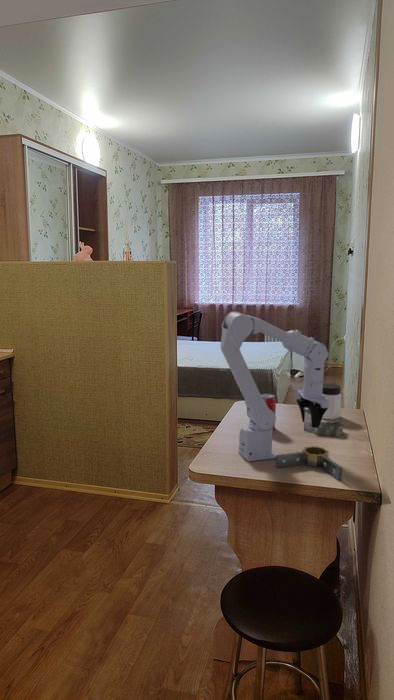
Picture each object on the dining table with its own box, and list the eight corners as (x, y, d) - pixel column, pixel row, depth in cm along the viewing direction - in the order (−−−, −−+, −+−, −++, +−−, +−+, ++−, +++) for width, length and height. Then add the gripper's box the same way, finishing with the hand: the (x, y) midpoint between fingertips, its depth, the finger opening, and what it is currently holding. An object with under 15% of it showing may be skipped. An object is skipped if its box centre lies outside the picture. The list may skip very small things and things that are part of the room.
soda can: (276, 431, 172) (277, 397, 170) (257, 431, 173) (258, 397, 171) (273, 425, 179) (275, 393, 177) (256, 425, 179) (257, 392, 177)
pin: (307, 434, 150) (309, 411, 148) (298, 428, 154) (300, 406, 153) (321, 432, 151) (323, 409, 150) (312, 427, 156) (314, 404, 155)
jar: (343, 419, 187) (345, 388, 185) (323, 420, 185) (325, 389, 183) (331, 412, 196) (333, 382, 194) (312, 413, 194) (314, 383, 192)
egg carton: (342, 430, 175) (343, 419, 174) (342, 438, 168) (343, 426, 167) (311, 427, 178) (312, 416, 177) (310, 434, 171) (310, 422, 170)
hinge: (298, 486, 130) (299, 473, 130) (270, 462, 145) (271, 451, 145) (351, 478, 135) (352, 466, 135) (318, 456, 150) (319, 445, 150)
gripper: (338, 385, 145) (336, 430, 147) (311, 375, 158) (309, 416, 160) (317, 387, 142) (315, 433, 145) (292, 376, 156) (289, 418, 158)
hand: (310, 424), depth 152 cm, fingers closed on pin, 5 cm apart
